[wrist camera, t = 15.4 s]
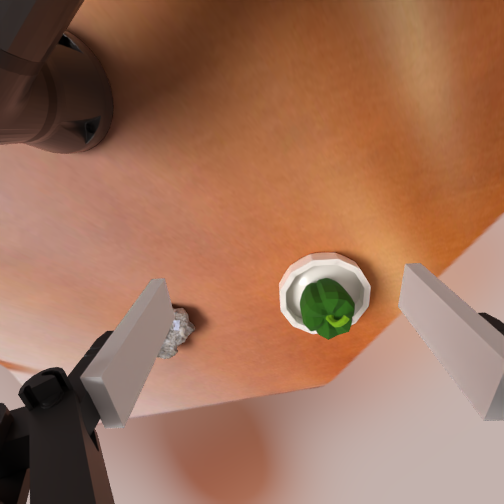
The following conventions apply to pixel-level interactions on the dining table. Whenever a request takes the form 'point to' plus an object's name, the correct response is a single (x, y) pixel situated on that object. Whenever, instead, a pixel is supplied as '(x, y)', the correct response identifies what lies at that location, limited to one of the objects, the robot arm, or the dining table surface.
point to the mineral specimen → (176, 334)
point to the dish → (320, 268)
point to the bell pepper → (327, 308)
